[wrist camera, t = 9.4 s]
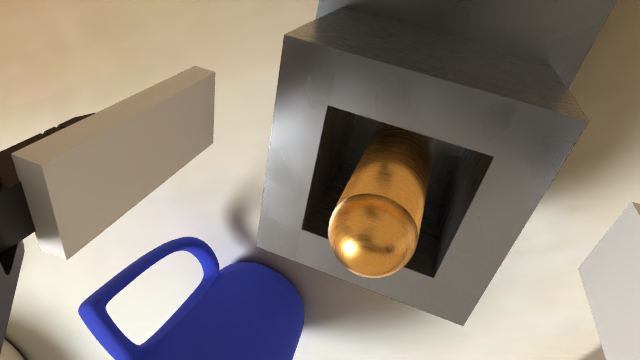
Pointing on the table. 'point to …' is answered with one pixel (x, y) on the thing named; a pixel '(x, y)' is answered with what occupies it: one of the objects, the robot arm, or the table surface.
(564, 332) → the table surface
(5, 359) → the planter
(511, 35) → the keeper
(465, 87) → the hollow square tube
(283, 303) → the mug
